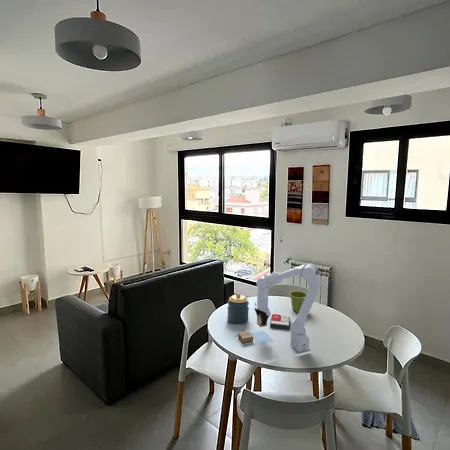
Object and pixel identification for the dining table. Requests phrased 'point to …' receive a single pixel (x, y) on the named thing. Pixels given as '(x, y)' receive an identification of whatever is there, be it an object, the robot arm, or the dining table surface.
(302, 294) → the plant pot
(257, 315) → the maple block
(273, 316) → the multicoloured piece
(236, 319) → the canister
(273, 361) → the dining table surface
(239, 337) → the walnut base
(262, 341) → the board
